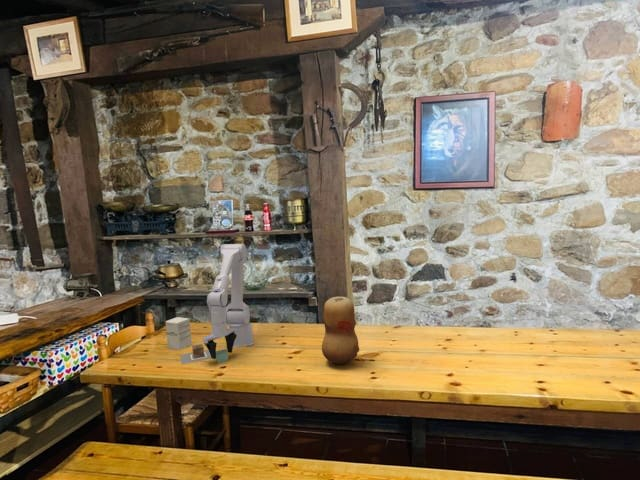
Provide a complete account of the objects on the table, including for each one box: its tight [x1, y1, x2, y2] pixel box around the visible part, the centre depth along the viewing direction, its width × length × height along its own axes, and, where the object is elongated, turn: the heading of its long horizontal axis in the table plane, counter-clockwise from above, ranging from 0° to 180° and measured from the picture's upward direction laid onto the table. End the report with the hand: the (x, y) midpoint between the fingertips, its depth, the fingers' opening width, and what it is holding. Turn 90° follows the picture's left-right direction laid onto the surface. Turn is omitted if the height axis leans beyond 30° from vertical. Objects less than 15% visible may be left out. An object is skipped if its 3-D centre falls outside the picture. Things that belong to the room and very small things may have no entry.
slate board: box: [179, 349, 213, 365], centre depth 172 cm, size 14×11×1 cm
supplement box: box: [165, 316, 193, 351], centre depth 183 cm, size 7×7×13 cm
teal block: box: [215, 348, 229, 363], centre depth 166 cm, size 4×4×4 cm
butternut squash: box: [321, 296, 360, 365], centre depth 157 cm, size 14×13×25 cm
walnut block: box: [191, 343, 205, 359], centre depth 171 cm, size 4×4×4 cm
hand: (221, 355), depth 166 cm, fingers open, 7 cm apart
